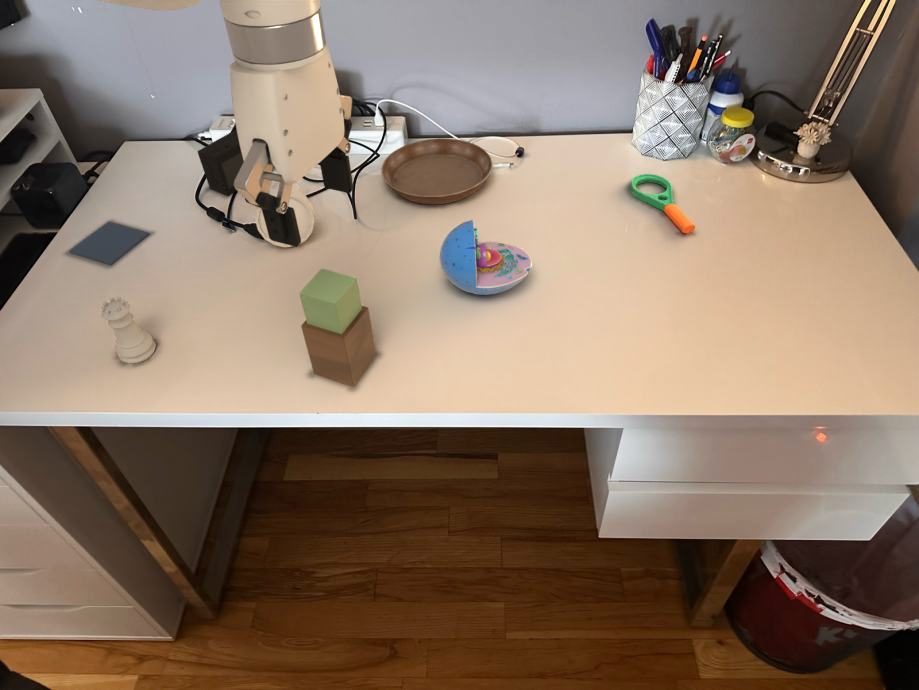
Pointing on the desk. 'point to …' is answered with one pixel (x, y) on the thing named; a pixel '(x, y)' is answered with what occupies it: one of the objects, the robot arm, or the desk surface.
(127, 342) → the rook chess piece
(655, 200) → the magnifying glass
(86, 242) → the coaster
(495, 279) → the cell model
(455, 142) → the plant saucer
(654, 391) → the desk surface
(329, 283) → the top block
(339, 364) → the base block
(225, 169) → the digital camera
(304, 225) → the spotlight
